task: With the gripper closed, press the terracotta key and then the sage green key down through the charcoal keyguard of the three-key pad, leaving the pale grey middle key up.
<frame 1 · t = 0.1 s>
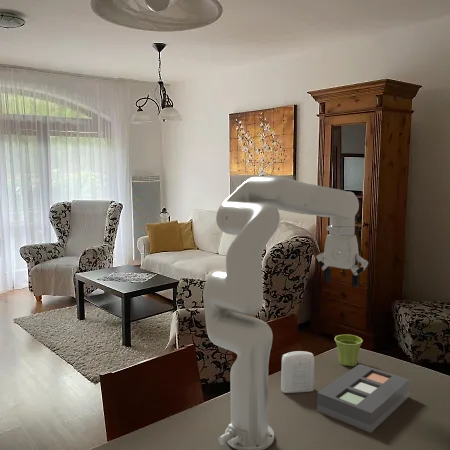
hand: (340, 284, 146), 31 cm above the table, tool pointing down, fingers open, 9 cm apart
sage key: (351, 401, 127), point 4 cm above the table, slide at 0.0 cm
terracotta key: (376, 381, 138), point 4 cm above the table, slide at 0.0 cm
keypad: (364, 403, 133), on the table
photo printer: (297, 390, 142), on the table
plant pot: (347, 363, 161), on the table
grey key: (364, 390, 133), point 4 cm above the table, slide at 0.0 cm
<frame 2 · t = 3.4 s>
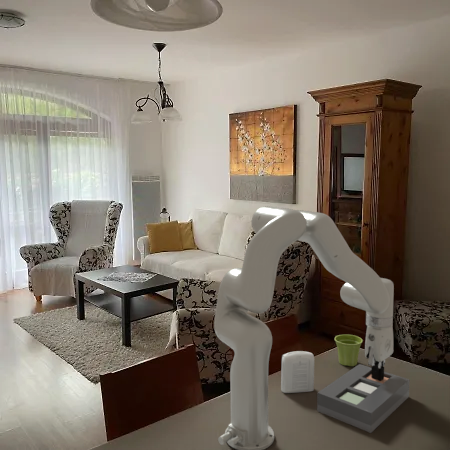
hand: (377, 378, 138), 5 cm above the table, tool pointing down, fingers closed
terracotta key: (376, 381, 138), point 4 cm above the table, slide at 0.1 cm, touching gripper
everything else where it was.
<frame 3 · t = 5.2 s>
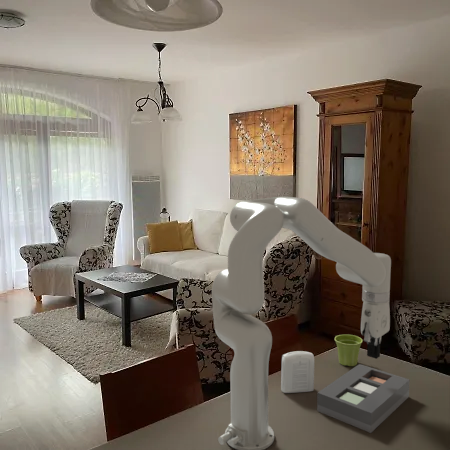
hand: (373, 356, 135), 13 cm above the table, tool pointing down, fingers closed
terracotta key: (376, 384, 138), point 3 cm above the table, slide at 1.0 cm
everything else where it was.
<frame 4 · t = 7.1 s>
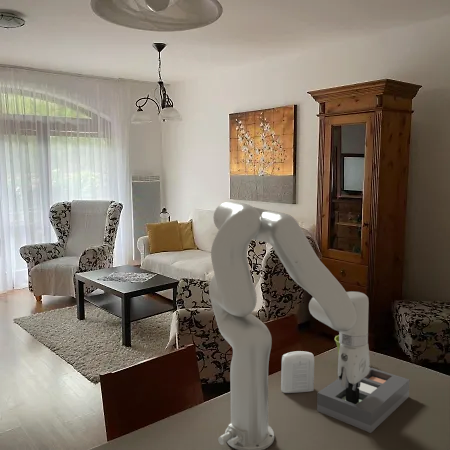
hand: (352, 401, 127), 4 cm above the table, tool pointing down, fingers closed
sage key: (351, 404, 127), point 3 cm above the table, slide at 0.9 cm, touching gripper
everything else where it was.
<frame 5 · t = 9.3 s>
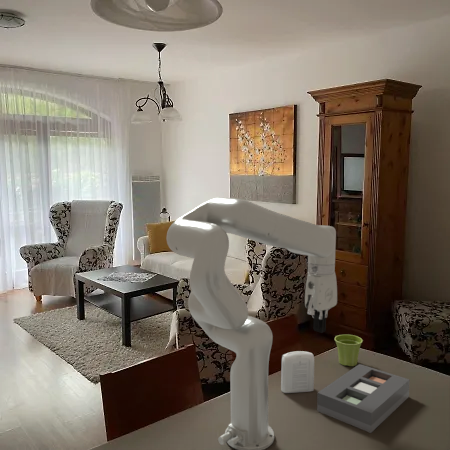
hand: (319, 330, 133), 21 cm above the table, tool pointing down, fingers closed
sage key: (351, 404, 127), point 3 cm above the table, slide at 1.1 cm
everything else where it was.
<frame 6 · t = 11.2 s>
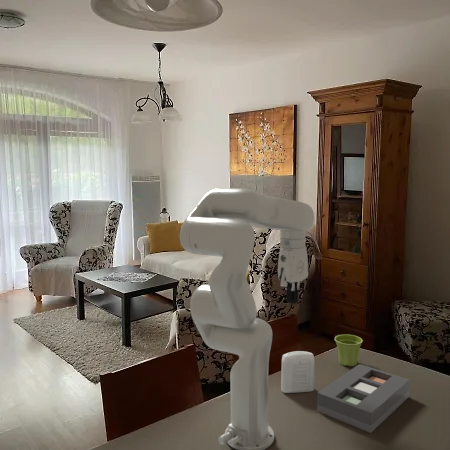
hand: (292, 302, 141), 27 cm above the table, tool pointing down, fingers closed
nothing on the table moved.
at the end: terracotta key slide at 1.0 cm; sage key slide at 1.1 cm; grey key slide at 0.0 cm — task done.
